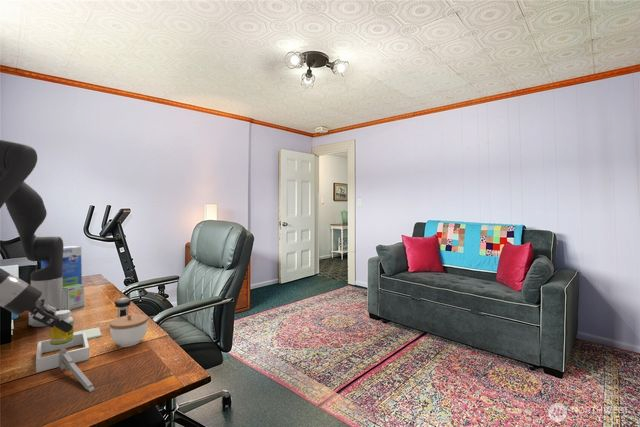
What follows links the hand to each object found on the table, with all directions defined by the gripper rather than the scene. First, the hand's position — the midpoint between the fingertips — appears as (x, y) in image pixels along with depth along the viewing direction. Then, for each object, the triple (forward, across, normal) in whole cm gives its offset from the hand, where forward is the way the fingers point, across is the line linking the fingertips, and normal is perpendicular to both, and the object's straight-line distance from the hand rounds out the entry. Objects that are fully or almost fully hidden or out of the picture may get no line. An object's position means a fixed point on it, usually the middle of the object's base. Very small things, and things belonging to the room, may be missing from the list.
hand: (69, 326), depth 95 cm
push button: (+17, +17, -5) cm, 25 cm away
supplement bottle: (+2, 0, +5) cm, 5 cm away
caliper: (+7, -18, +6) cm, 20 cm away
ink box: (+9, +54, +5) cm, 55 cm away
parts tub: (+5, 0, +7) cm, 9 cm away
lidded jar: (+17, -2, -5) cm, 18 cm away
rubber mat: (+9, +14, +3) cm, 17 cm away
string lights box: (+6, +67, +7) cm, 68 cm away
